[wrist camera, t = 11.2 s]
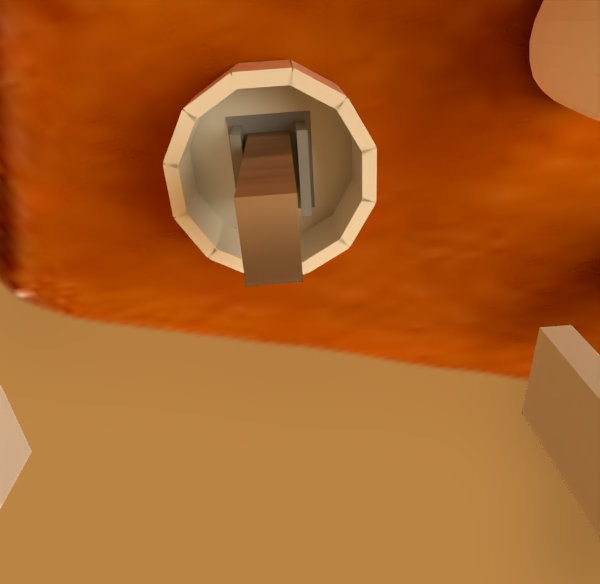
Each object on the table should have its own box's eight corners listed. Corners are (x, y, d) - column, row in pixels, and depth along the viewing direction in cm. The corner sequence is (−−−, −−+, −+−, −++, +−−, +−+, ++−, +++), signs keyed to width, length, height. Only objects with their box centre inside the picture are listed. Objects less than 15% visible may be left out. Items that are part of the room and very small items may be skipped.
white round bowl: (164, 68, 29) (145, 78, 25) (362, 54, 29) (378, 61, 25) (197, 249, 35) (186, 283, 30) (362, 236, 35) (375, 268, 31)
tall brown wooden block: (247, 133, 30) (233, 198, 20) (288, 130, 30) (296, 193, 20) (255, 197, 32) (245, 286, 22) (293, 193, 32) (303, 281, 22)
